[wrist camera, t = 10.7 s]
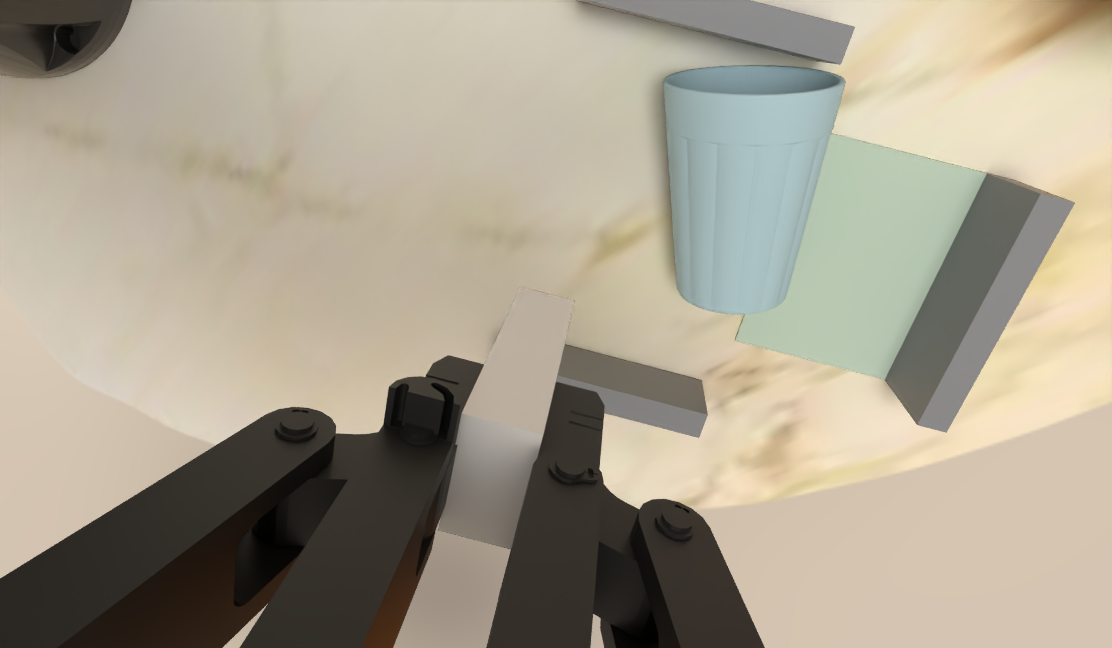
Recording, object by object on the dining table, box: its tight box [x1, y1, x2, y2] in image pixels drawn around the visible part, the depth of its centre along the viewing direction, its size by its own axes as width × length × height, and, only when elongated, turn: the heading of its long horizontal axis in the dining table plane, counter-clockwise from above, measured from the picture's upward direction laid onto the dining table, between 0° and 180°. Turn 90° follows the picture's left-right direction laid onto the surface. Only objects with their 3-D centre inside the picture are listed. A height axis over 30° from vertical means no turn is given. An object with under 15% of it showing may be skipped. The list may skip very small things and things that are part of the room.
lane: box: [556, 0, 855, 438], centre depth 34 cm, size 12×21×4 cm, turn 167°
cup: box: [663, 65, 845, 314], centre depth 32 cm, size 8×8×10 cm
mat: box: [735, 134, 987, 380], centre depth 36 cm, size 9×12×1 cm
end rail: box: [885, 173, 1075, 432], centre depth 33 cm, size 2×12×5 cm, turn 167°
